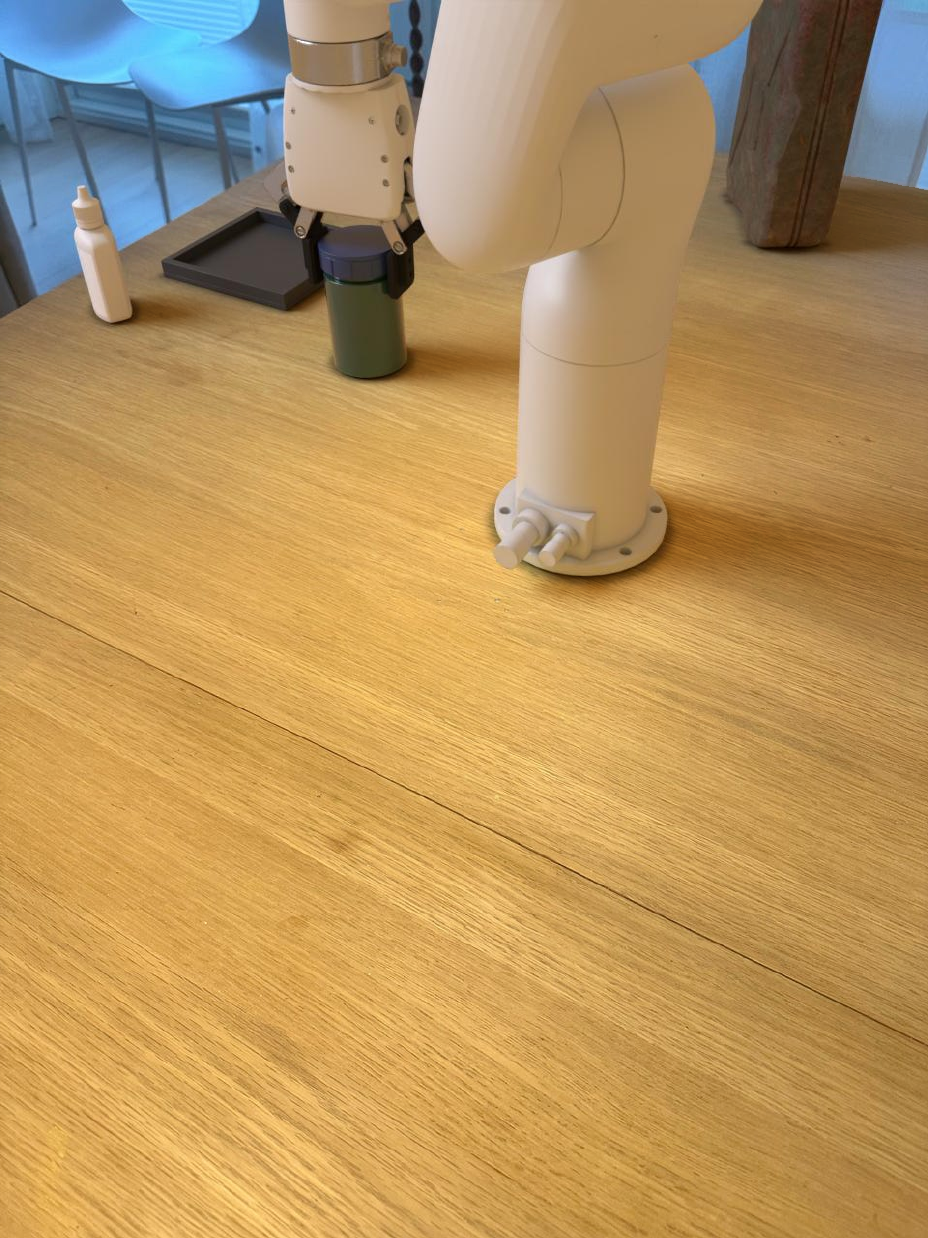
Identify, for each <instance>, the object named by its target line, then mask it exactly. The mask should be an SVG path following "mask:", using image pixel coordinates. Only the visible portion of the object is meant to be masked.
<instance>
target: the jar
mask: <svg viewBox="0 0 928 1238" xmlns="http://www.w3.org/2000/svg"><path fill="white" fill-rule="evenodd" d="M323 277H324V285H323V286H324V292H325V301H326V309H327V314H328V316H327V318H328V326H329V332H330V340H331V347H332V348H331V349H332V356H333V364H334V366H335V368H336V369H337V370H338V372H340V373H341V374H344V375H347V376H349V377H355V378H360V379H361V378H363V379H365V378H367V379H368V378H369V379H370V378H379V377H384V376H387V375H391V374H394V373H395V372H397V371H399V370H401V368H403V367H404V366H405V365H406V363H407V360H408V352H407V351H408V350H407V349H408V348H407V338H406V323H405V322H406V321H405V309H404V294H403V295H402V296H401V297H400V298H399V299H398V300H396V299H391V297H389V292H388V277H387V274H385V275H382V276H378V277H374V278H367V279H344V278H338V277H334V276H331V275H329V274H327V273H325V272H324V271H323Z"/></svg>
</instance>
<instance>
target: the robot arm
mask: <svg viewBox="0 0 928 1238" xmlns="http://www.w3.org/2000/svg"><path fill="white" fill-rule="evenodd" d="M282 1H283V8H284V17H285V26H286V27H285V28H286V32H287V33H286V34H287V42H288V52H289V59H290V60H289V61H290V70H291V72H290V73H288V74H287V75H286V76H285V84H284V94H283V112H282V115H283V117H282V128H283V129H282V131H283V155H284V159H283V160H282V161H281V162H280V163H279V164H278V165H277V166H276V167H275V168H274V169H273V170H272V171H271V172H270V173H269V174H268V175H267V176H266V177H265V178H264V179H263V181H262V187H263V188H264V190H265V191H266V193H267V194H268V195H269V196H270V198H271V199H272V200H273V201H274V202H275V204H276V205H278V209H279V212H280V213H282V214H283V215H284V216H285V217H286V218H287V219H288V220H289V221H290V223H291V224H292V225H293V226H294V232H295V234H296V235H297V236H298V237H299V238H302V246H303V254H304V262H305V267H306V269H308V278H309V283H310V284H313V285H317V284H319V283H320V282H321V281H322V280H323V279H324V277H323V270H322V269H321V266H320V258H319V250H318V241H319V239H320V238H321V237H322V236H323V235H325V234H326V233H328V232H329V230H328V228H327V226H323V225H322V223H323V221H324V217H325V215H326V214H327V213H328V214H333V215H340V216H346V217H352V218H358V219H365V220H370V221H371V220H372V221H378V223H379V226H381V227H382V229H383V231H384V233H385V235H386V237H387V239H388V241H389V243H390V245H391V248H392V249H391V250H390V251H389V252H388V253H387V255H386V262H387V277H388V292H389V297H391V299H396V300H398V299H399V298H400V297H401V296H402V295H403V296H404V294H405V293H406V292H407V291H408V290H409V289H410V287H411V286H412V285H413V284H414V281H415V257H414V256H415V255H414V244H415V243H416V242H417V241H418V240H419V239H420V238H421V237H422V236H423V235H424V234H426V237H427V238H428V240H429V242H430V243H431V245H432V246H433V248H434V249H435V250H436V252H437V253H439V255H440V256H442V258H443V259H445V260H446V261H447V262H448V263H450V264H451V265H453V266H454V267H456V268H459V269H461V270H463V271H466V272H469V273H473V274H477V275H478V274H479V275H497V274H498V275H499V274H503V273H509V272H512V271H516V270H520V269H524V268H526V267H529V268H528V271H527V275H526V279H525V284H524V287H523V294H522V302H521V316H520V317H521V320H520V339H519V341H520V342H519V371H518V372H519V374H518V375H519V377H518V379H519V380H518V405H517V406H518V408H517V410H518V411H517V414H518V415H517V442H516V443H517V445H516V473H515V474H516V476H515V477H514V478H512V479H511V480H509V481H508V482H507V483H506V484H505V486H503V488H502V489H501V490H500V491H499V493H498V495H497V498H496V499H495V505H494V509H493V512H494V513H493V520H494V521H493V524H494V527H495V531H496V534H497V536H498V537H499V539H500V542H499V543H498V544H497V545H496V547H495V548H494V549H493V558H494V559H495V561H496V563H497V564H498V565H499V566H500V567H502V568H504V569H507V570H514V569H516V568H517V567H518V566H519V565H520V563H521V562H522V561H523V562H526V563H528V564H531V565H532V566H534V567H536V568H539V569H542V570H546V571H548V572H552V573H556V574H561V575H567V576H577V577H578V576H579V577H580V576H581V577H592V576H604V575H610V574H614V573H615V574H616V573H620V572H623V571H625V570H628V569H630V568H633V567H636V566H638V565H639V564H641V563H643V562H645V561H646V560H648V559H649V558H650V557H651V556H652V555H653V554H655V553H656V552H657V550H658V549H659V548H660V546H661V545H662V544H663V542H664V540H665V536H666V533H667V527H668V518H669V517H668V510H667V507H666V505H665V503H664V500H663V498H662V497H661V495H660V494H659V493H658V491H657V490H656V489H655V488H653V486H651V482H652V475H653V469H654V468H653V467H654V459H655V452H656V446H657V438H658V431H659V425H660V417H661V408H662V401H663V394H664V387H665V380H666V372H667V365H668V357H669V351H670V342H671V337H672V334H673V327H674V319H675V312H676V305H677V298H678V293H679V292H678V291H679V285H680V281H681V276H682V270H683V265H684V263H685V258H686V253H687V249H688V245H689V242H690V239H691V236H692V234H693V233H692V232H693V229H694V227H695V223H696V220H697V218H698V215H699V212H700V209H701V206H702V203H703V200H704V197H705V195H706V191H707V189H708V184H709V181H710V177H711V173H712V170H713V169H712V168H713V164H714V160H715V159H714V158H715V152H716V145H717V144H716V143H717V142H716V141H717V133H716V132H717V125H716V115H715V110H714V106H713V102H712V98H711V96H710V94H709V91H708V88H707V87H706V86H707V85H706V84H705V82H704V81H703V79H702V78H701V76H700V75H699V73H698V72H697V70H695V68H694V67H692V65H691V64H690V63H692V62H694V61H695V62H696V61H699V60H701V59H703V58H706V57H709V56H711V55H713V54H715V53H717V52H719V51H721V50H722V49H724V48H726V47H728V46H729V45H730V44H732V43H733V42H734V41H735V40H736V39H738V38H739V37H740V36H741V35H742V34H743V32H745V31H746V29H747V28H748V27H749V25H751V21H752V19H753V18H754V16H755V15H756V13H757V11H758V10H759V8H760V6H761V4H762V2H763V0H440V6H439V11H438V15H437V20H436V26H435V30H434V36H433V41H432V46H431V51H430V56H429V59H428V64H427V65H428V66H427V71H426V76H425V80H424V84H423V85H424V86H423V91H422V94H421V95H422V96H421V100H420V106H419V111H418V117H417V122H416V126H415V122H414V116H413V111H412V105H411V102H410V96H409V93H408V89H407V86H406V85H407V84H406V81H405V78H404V75H402V74H400V73H396V72H394V70H395V69H396V68H397V67H399V68H405V67H406V66H407V64H408V61H409V52H408V51H409V50H408V48H407V47H406V46H402V45H398V44H397V43H394V31H393V30H391V17H390V16H391V13H390V4H393V3H398V2H404V1H406V0H282ZM415 127H416V128H415ZM413 203H415V205H416V210H417V213H418V214H417V215H418V216H417V217H416V218H415V219H414V220H413V219H412V216H411V215H410V212H409V210H408V207H407V206H406V205H409V204H413Z"/></svg>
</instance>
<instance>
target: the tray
mask: <svg viewBox="0 0 928 1238" xmlns="http://www.w3.org/2000/svg"><path fill="white" fill-rule="evenodd" d="M322 225H323V226H327V228H328V230H329V232H330V231H332V230H335V229H338V228H342V227H343V226H342V227H341V226H337V225H334V224H330V223H325V222H322ZM160 262H161V266H162V267H161V268H162V271H163V275H164V277H166V278H170V279H173V280H176V281H181V282H184V283H187V284H190V285H193V286H197V287H201V288H204V289H208V290H210V291H211V290H212V291H216V292H218V293H222V294H225V295H229V296H232V297H236V298H239V299H243V300H246V301H250V302H254V303H258V304H260V305H265V306H268V307H271V308H275V309H278V310H282V311H288V310H289V309H291V308H293V307H294V306H295V305H297V304H298V303H300V302H301V301H303V300H304V299H306V298H307V297H309V296H310V295H312V294H313V293H314V292H316V291H317V290H318V289H320V288H322V287H323V286H325V285H324V279H323V280H322V281H321V282H320V283H319V284H317V285H313V284H310V283H309V278H308V269H306V267H305V262H304V254H303V246H302V238H299V237H298V236H297V235H296V234H295V232H294V226H293V225H292V224H291V223H290V221H289V220H288V219H287V218H286V217H285V216H284V215H283V214H282V212H281V211H276V210H272V209H268V208H263V207H259V206H255V207H254V208H252V209H250V210H248V211H246V212H245V213H243V214H241V215H239V216H238V217H235V218H234V219H233V220H231V221H229V222H227V223H225V224H224V225H222V226H220V227H218V228H216V229H214V230H213V231H211V232H210V233H208V234H206V235H204V236H202V237H200V238H199V239H197V240H195V241H193V242H191V243H190V244H188V245H186V246H184V247H182V248H180V249H179V250H177V251H175V252H173V253H172V254H170V255H169V256H166V257H165V258H163V259H161V260H160Z"/></svg>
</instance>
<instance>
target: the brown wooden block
mask: <svg viewBox="0 0 928 1238" xmlns="http://www.w3.org/2000/svg"><path fill="white" fill-rule="evenodd" d="M883 2H884V0H763V2H762V4H761V6H760V8H759V10H758V11H757V13H756V15H755V16H754V18H753V19H752V21H751V22H750V26H749V33H748V40H747V45H746V46H747V47H746V55H745V56H746V58H745V68H744V69H743V74H742V77H741V83H740V84H741V85H740V90H739V95H738V96H739V97H738V102H737V108H736V112H735V113H736V114H735V119H734V124H733V131H732V136H731V140H730V141H731V142H730V146H729V153H728V159H727V165H726V169H725V170H726V171H725V179H726V181H725V182H726V194H727V197H728V198H729V200H730V202H731V203H732V204H733V205H734V206H735V208H736V209H737V210H738V211H739V212H740V213H741V214H742V224H743V228H744V230H745V232H746V235H747V237H748V239H749V241H750V242H751V244H753V245H754V246H755V247H758V248H786V247H787V248H791V247H792V248H793V247H794V248H810V247H814V246H817V245H821V243H822V242H823V240H824V239H825V237H826V236H827V235H828V234H829V232H830V228H831V223H832V220H833V216H834V212H835V208H836V204H837V200H838V197H839V191H840V189H841V183H842V179H843V174H844V170H845V165H846V161H847V157H848V152H849V147H850V143H851V138H852V134H853V130H854V126H855V125H854V124H855V121H856V120H855V119H856V115H857V112H858V111H857V110H858V106H859V102H860V98H861V94H862V90H863V86H864V81H865V77H866V73H867V70H868V66H869V61H870V57H871V53H872V49H873V45H874V40H875V36H876V32H877V28H878V24H879V20H880V16H881V10H882V7H883Z"/></svg>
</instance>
